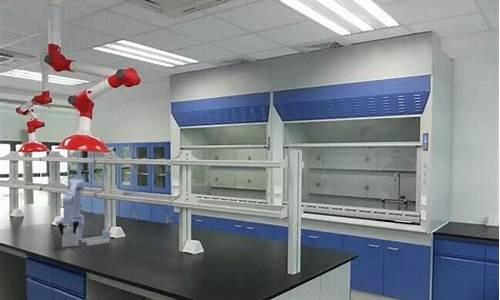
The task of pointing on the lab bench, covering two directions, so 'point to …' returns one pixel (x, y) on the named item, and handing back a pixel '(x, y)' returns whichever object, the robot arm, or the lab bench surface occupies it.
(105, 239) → the display stand
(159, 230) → the lab bench surface
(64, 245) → the photo printer
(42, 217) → the lab bench surface
